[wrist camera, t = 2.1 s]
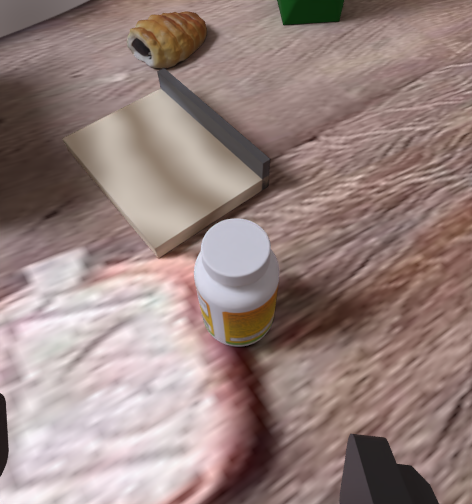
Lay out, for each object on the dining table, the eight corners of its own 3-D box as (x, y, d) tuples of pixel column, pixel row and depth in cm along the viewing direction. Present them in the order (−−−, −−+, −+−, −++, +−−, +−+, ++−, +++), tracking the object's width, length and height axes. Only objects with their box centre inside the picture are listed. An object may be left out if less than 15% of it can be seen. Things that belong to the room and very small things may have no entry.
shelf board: (171, 96, 46) (166, 66, 43) (270, 184, 39) (272, 157, 36) (67, 149, 42) (54, 122, 39) (158, 258, 35) (150, 234, 32)
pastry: (183, 20, 54) (180, -12, 50) (221, 42, 51) (220, 10, 48) (124, 53, 50) (116, 22, 47) (161, 79, 48) (155, 47, 45)
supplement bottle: (286, 301, 33) (299, 230, 25) (252, 361, 31) (255, 304, 22) (225, 271, 34) (219, 194, 26) (189, 326, 32) (169, 261, 24)
